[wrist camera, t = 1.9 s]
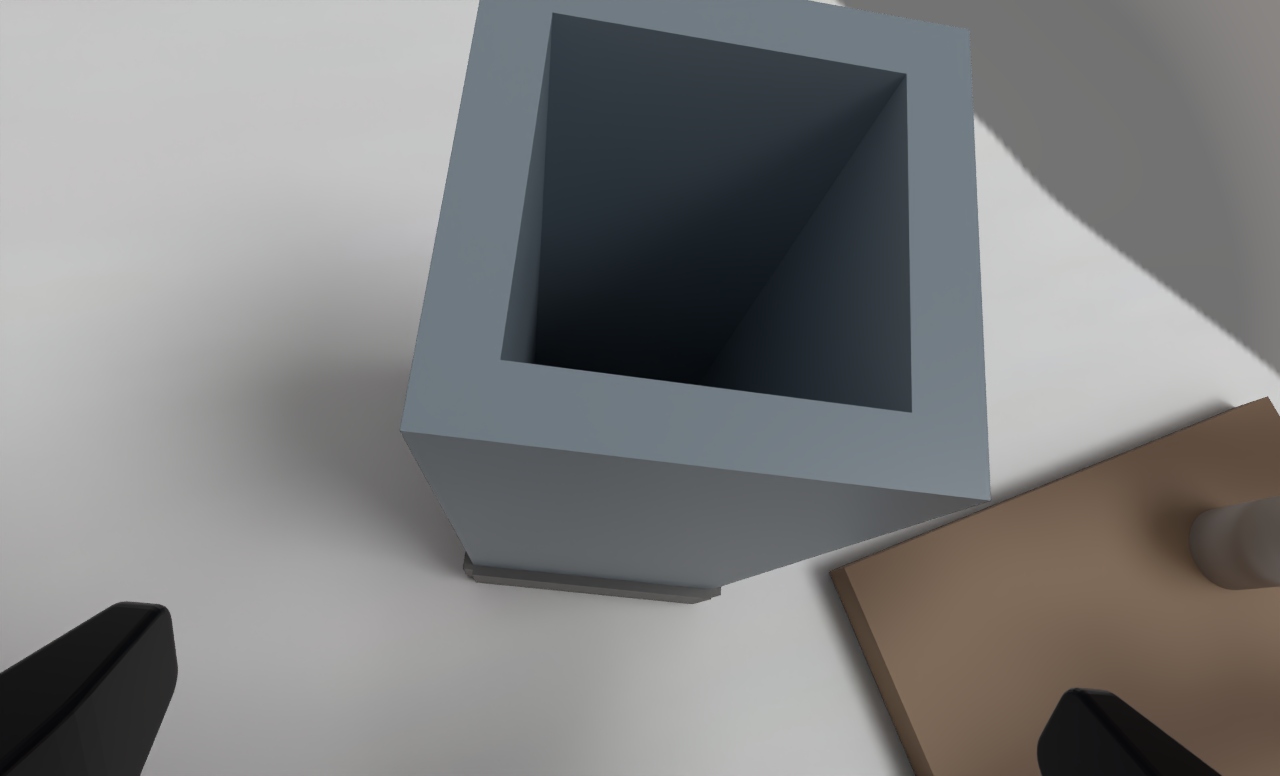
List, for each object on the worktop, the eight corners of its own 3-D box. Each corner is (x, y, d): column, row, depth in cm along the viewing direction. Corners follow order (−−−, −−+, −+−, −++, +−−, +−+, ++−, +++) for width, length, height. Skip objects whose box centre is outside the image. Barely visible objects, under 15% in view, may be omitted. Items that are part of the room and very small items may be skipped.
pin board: (1545, 942, 20) (1869, 1034, 15) (1111, 1235, 17) (1344, 1466, 12) (1237, 407, 23) (1422, 344, 18) (828, 571, 20) (924, 547, 15)
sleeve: (700, 605, 19) (1013, 526, 7) (468, 581, 19) (369, 451, 7) (714, 386, 21) (986, 17, 9) (501, 359, 20) (472, -77, 8)
